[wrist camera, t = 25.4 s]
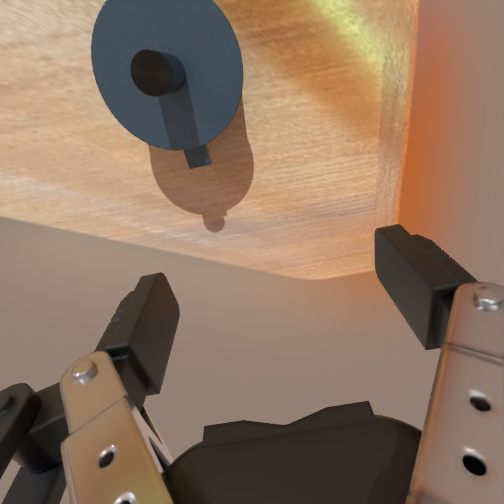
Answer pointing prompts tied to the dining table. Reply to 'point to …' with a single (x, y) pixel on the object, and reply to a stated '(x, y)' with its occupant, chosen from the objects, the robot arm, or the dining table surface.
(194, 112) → the lid
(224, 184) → the dining table surface
